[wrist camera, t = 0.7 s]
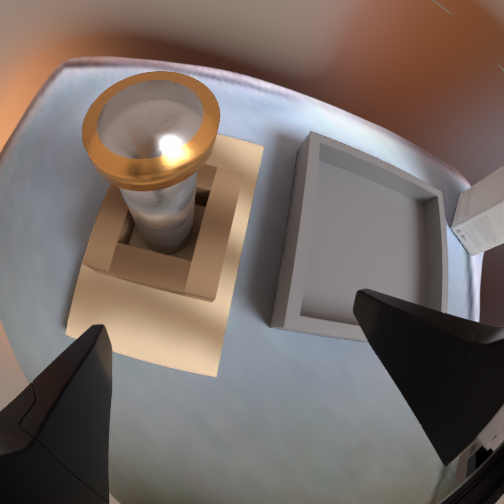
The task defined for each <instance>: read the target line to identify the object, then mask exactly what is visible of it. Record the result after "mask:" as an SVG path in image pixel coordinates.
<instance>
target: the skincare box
mask: <svg viewBox="0 0 504 504" xmlns="http://www.w3.org/2000/svg"><path fill="white" fill-rule="evenodd" d="M451 229H452V231H453V232H454V233H455V234H456V235H457V237H458V238H459V240H460V241H461V243H462V244H463V246H464V248H465V249H466V250H467V252H468V253H469V255H470V256H474V255H476V254H479V253H481V252H484V251H486V250H488V249H491V248H493V247H495V246H498V245H500V244H502V243H504V166H503V167H501V168H500V169H498V170H497V171H495V172H494V173H492V174H491V175H489V176H488V177H486V178H485V179H483V180H482V181H480V182H478V183H477V184H476V185H474V186H472V187H471V188H469V189H467V190H466V191H464V192H462V193H461V194H460V195H459V199H458V204H457V208H456V211H455V215H454V219H453V223H452V226H451Z"/></svg>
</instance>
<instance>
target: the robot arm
mask: <svg viewBox="0 0 504 504" xmlns="http://www.w3.org/2000/svg"><path fill="white" fill-rule="evenodd" d="M353 314H354V316H355V318H356V320H357V322H358V323H359V325H360V327H361V329H362V331H363V333H364V335H365V337H366V339H367V340H368V342H369V344H370V346H371V347H372V349H373V350H374V352H375V353H376V355H377V356H378V358H379V359H380V361H381V362H382V364H383V365H384V367H385V369H386V370H387V372H388V373H389V375H390V376H391V378H392V379H393V381H394V382H395V384H396V386H397V387H398V389H399V390H400V392H401V394H402V395H403V397H404V398H405V400H406V402H407V403H408V405H409V406H410V408H411V410H412V411H413V413H414V415H415V416H416V418H417V419H418V421H419V423H420V424H421V425H422V428H423V430H424V431H425V433H426V435H427V437H428V438H429V440H430V442H431V443H432V445H433V447H434V449H435V450H436V452H437V454H438V456H439V457H440V459H441V461H442V463H443V464H444V466H445V467H446V466H448V465H449V464H450V463H451V462H453V461H454V460H455V459H456V458H457V457H458V456H460V455H461V454H462V453H463V452H464V451H465V450H467V449H468V448H469V447H470V446H471V445H472V444H473V443H474V442H475V441H476V440H478V441H479V442H480V443H481V445H482V447H481V448H480V449H479V450H478V451H476V452H475V453H474V454H473V456H471V457H470V458H469V459H468V465H467V474H466V480H465V481H463V482H462V483H461V484H460V485H459V486H458V487H457V488H455V489H454V490H453V491H452V492H451V493H449V494H448V495H447V496H446V497H445V498H443V499H442V500H441V501H439V502H438V503H437V504H504V327H496V326H491V325H487V324H483V323H479V322H475V321H471V320H467V319H464V318H460V317H457V316H453V315H450V314H447V313H443V312H440V311H437V310H434V309H431V308H428V307H425V306H421V305H418V304H415V303H412V302H409V301H405V300H402V299H399V298H396V297H393V296H390V295H386V294H383V293H380V292H377V291H374V290H371V289H361V290H358V291H357V292H356V295H355V300H354V305H353ZM111 397H112V345H111V341H110V339H109V336H108V333H107V330H106V327H105V325H103V324H94V325H92V326H91V327H89V328H88V329H87V330H86V331H85V332H84V333H83V334H82V335H81V336H80V337H78V338H77V339H76V340H75V341H74V342H73V343H72V344H71V345H70V346H69V347H68V348H67V349H66V350H64V351H63V352H62V353H61V354H60V355H59V356H58V357H57V358H56V359H55V360H54V361H53V362H52V363H51V364H50V365H49V366H48V367H47V368H46V369H45V370H44V371H42V372H41V373H40V374H39V375H38V376H37V377H36V378H35V379H34V380H33V383H30V384H29V385H28V386H27V387H26V388H25V389H24V390H23V391H22V392H21V393H20V394H19V395H18V396H17V397H16V398H15V399H14V400H13V401H12V402H10V404H8V405H7V406H6V407H5V408H4V409H2V411H0V504H109V481H108V448H109V424H110V409H111Z"/></svg>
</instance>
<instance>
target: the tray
mask: <svg viewBox="0 0 504 504" xmlns="http://www.w3.org/2000/svg"><path fill="white" fill-rule="evenodd" d="M361 289H371V290H374V291H377V292H380V293H383V294H386V295H390V296H393V297H396V298H399V299H402V300H405V301H409V302H412V303H415V304H418V305H421V306H425V307H428V308H431V309H434V310H437V311H440V312H443V313H447V304H448V249H447V232H446V220H445V210H444V202H443V194H442V191H440V190H438V189H437V188H435V187H433V186H431V185H429V184H428V183H426V182H424V181H422V180H420V179H418V178H416V177H415V176H413V175H411V174H409V173H407V172H405V171H403V170H401V169H399V168H397V167H395V166H393V165H391V164H389V163H387V162H384V161H382V160H380V159H378V158H376V157H374V156H371V155H369V154H367V153H365V152H362V151H360V150H358V149H355V148H353V147H351V146H348V145H346V144H343V143H341V142H338V141H336V140H333V139H331V138H328V137H326V136H323V135H320V134H318V133H315V132H312V131H310V133H309V134H308V136H307V138H306V139H305V141H304V142H303V144H302V145H301V147H300V148H299V150H298V151H297V159H296V166H295V173H294V180H293V187H292V194H291V201H290V208H289V214H288V221H287V227H286V233H285V240H284V246H283V252H282V258H281V264H280V270H279V276H278V282H277V288H276V293H275V299H274V305H273V310H272V316H271V321H270V328H275V329H281V330H287V331H293V332H299V333H305V334H311V335H318V336H324V337H331V338H338V339H346V340H354V341H362V342H368V340H367V339H366V337H365V335H364V333H363V331H362V329H361V327H360V325H359V323H358V322H357V320H356V318H355V316H354V314H353V305H354V300H355V295H356V292H357V291H358V290H361Z"/></svg>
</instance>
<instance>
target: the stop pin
mask: <svg viewBox="0 0 504 504" xmlns="http://www.w3.org/2000/svg"><path fill="white" fill-rule="evenodd" d="M219 122H220V109H219V105H218V102H217V100H216V98H215V96H214V95H213V93H212V92H211V91H210V90H209V89H208V88H207V87H206V86H205V85H204V84H203V83H201V82H200V81H198V80H196V79H194V78H192V77H190V76H187V75H184V74H180V73H175V72H167V71H156V72H147V73H141V74H138V75H134V76H131V77H128V78H126V79H124V80H121V81H119V82H117V83H116V84H114V85H112V86H111V87H109V88H108V89H107V90H105V91H104V92H103V93H102V94H101V95H100V96H99V97H98V98H97V99H96V100H95V101H94V102H93V104H92V105H91V106H90V108H89V110H88V112H87V114H86V116H85V119H84V122H83V126H82V140H83V143H84V147H85V149H86V151H87V153H88V155H89V157H90V159H91V161H92V163H93V165H94V167H95V169H96V171H97V172H98V173H99V174H100V176H102V177H103V178H104V179H105V180H106V181H108V182H109V183H111V184H112V185H115V186H117V187H119V188H120V191H121V193H122V195H123V197H124V200H125V202H126V204H127V206H128V209H129V211H130V213H131V215H132V217H133V219H134V221H135V223H136V226H137V228H138V230H139V232H140V234H141V236H142V238H143V240H144V242H145V244H146V245H147V246H148V247H149V248H150V249H151V250H152V251H154V252H157V253H161V254H165V255H171V254H175V253H177V252H179V251H181V250H182V249H184V248H185V247H186V246H187V244H188V243H189V241H190V239H191V237H192V233H193V218H194V204H195V191H196V180H197V171H198V170H199V169H200V168H201V167H202V166H203V165H204V164H205V163H206V161H207V160H208V159H209V157H210V155H211V154H212V151H213V149H214V146H215V142H216V137H217V132H218V127H219Z"/></svg>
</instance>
